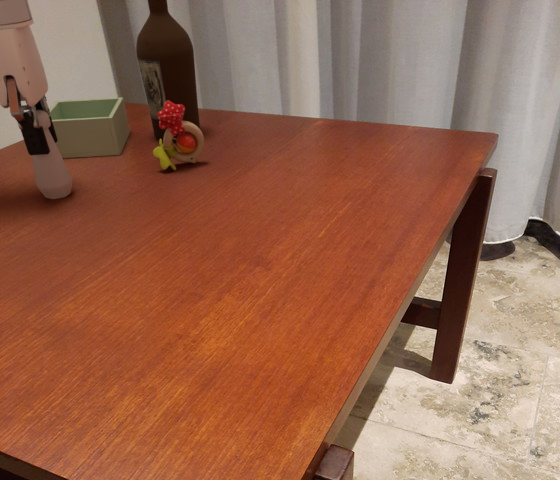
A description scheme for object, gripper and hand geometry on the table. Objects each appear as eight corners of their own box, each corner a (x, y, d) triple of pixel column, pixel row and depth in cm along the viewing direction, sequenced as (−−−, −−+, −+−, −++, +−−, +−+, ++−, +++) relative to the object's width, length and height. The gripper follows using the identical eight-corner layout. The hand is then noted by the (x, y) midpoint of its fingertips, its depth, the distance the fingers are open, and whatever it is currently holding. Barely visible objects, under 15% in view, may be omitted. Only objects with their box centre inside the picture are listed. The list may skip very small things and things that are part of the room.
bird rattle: (191, 168, 105) (144, 155, 101) (208, 108, 99) (158, 92, 95) (197, 180, 101) (148, 167, 97) (215, 118, 95) (163, 102, 91)
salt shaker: (82, 188, 95) (59, 107, 86) (63, 202, 90) (38, 118, 82) (52, 186, 96) (27, 105, 87) (33, 199, 92) (4, 116, 83)
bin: (49, 159, 106) (37, 121, 101) (65, 135, 116) (55, 101, 112) (120, 155, 106) (112, 117, 102) (130, 132, 117) (123, 97, 112)
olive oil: (183, 123, 120) (163, -18, 103) (213, 134, 114) (197, -14, 97) (141, 135, 114) (113, -10, 98) (171, 147, 108) (146, -6, 92)
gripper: (-6, 5, 82) (34, 132, 94) (-49, 25, 70) (3, 169, 82) (45, 2, 83) (78, 130, 95) (11, 22, 70) (54, 166, 82)
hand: (43, 147), depth 88 cm, fingers closed on salt shaker, 4 cm apart
